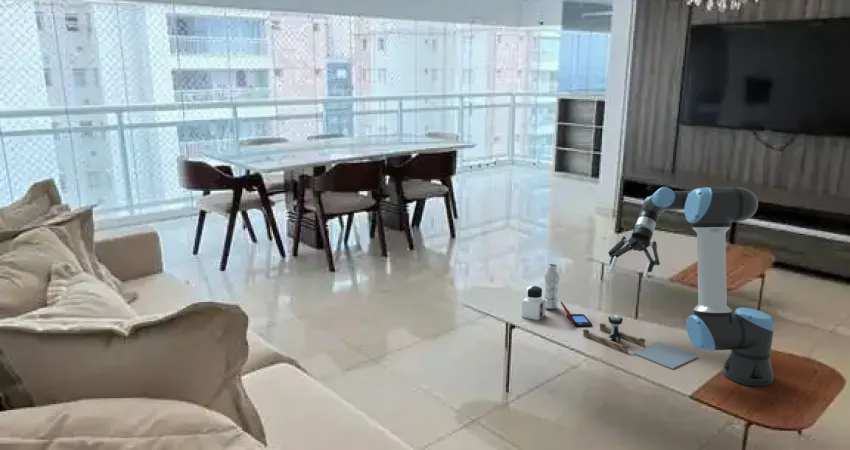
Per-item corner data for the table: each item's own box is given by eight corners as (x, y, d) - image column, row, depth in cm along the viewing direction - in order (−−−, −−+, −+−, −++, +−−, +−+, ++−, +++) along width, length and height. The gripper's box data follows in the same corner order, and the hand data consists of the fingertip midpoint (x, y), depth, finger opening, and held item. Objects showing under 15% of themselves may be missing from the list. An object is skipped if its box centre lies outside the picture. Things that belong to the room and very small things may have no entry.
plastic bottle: (542, 310, 269) (544, 267, 265) (543, 305, 276) (545, 262, 271) (557, 311, 268) (559, 268, 263) (558, 306, 274) (560, 263, 270)
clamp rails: (644, 345, 232) (645, 339, 232) (625, 353, 226) (625, 346, 225) (602, 329, 248) (602, 323, 247) (582, 336, 241) (583, 329, 241)
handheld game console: (592, 327, 251) (593, 310, 249) (567, 327, 250) (567, 310, 249) (583, 316, 263) (584, 299, 261) (559, 316, 262) (559, 300, 261)
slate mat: (697, 357, 221) (697, 356, 221) (672, 369, 212) (672, 368, 212) (658, 343, 234) (658, 342, 234) (633, 353, 225) (633, 352, 225)
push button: (613, 345, 233) (615, 320, 231) (602, 340, 237) (603, 316, 235) (624, 340, 237) (625, 316, 235) (612, 336, 241) (614, 312, 239)
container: (545, 314, 264) (546, 286, 261) (538, 320, 257) (539, 291, 255) (528, 311, 268) (529, 283, 265) (521, 317, 261) (522, 288, 259)
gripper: (676, 240, 242) (661, 285, 234) (616, 231, 258) (599, 273, 250) (673, 229, 237) (657, 276, 229) (611, 221, 252) (594, 264, 245)
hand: (627, 274), depth 239 cm, fingers open, 13 cm apart
